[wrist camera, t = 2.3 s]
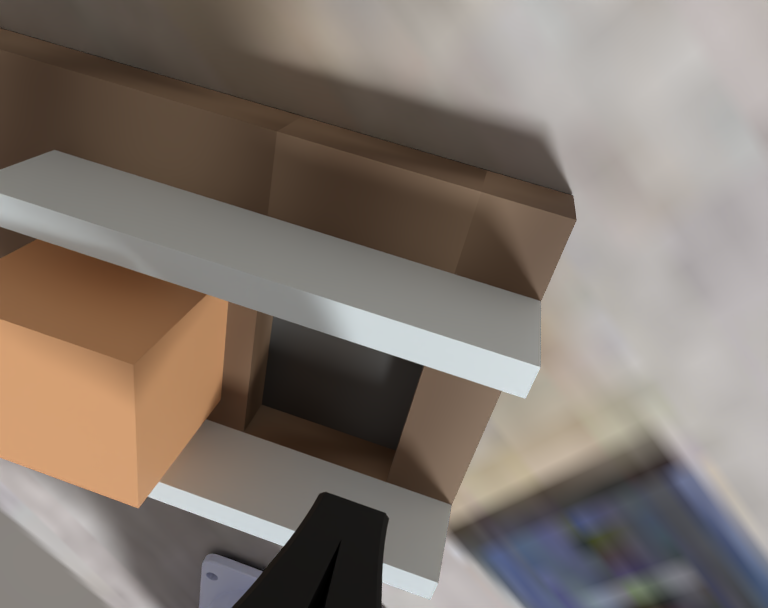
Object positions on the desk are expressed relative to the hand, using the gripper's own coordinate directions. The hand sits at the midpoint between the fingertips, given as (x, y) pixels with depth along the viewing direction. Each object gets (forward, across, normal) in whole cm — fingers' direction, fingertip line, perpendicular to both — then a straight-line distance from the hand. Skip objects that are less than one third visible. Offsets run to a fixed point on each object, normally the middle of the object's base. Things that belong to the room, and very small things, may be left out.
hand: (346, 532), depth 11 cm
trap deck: (+6, +6, 0) cm, 9 cm away
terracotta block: (+4, +7, 0) cm, 8 cm away
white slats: (+4, +3, 0) cm, 6 cm away
